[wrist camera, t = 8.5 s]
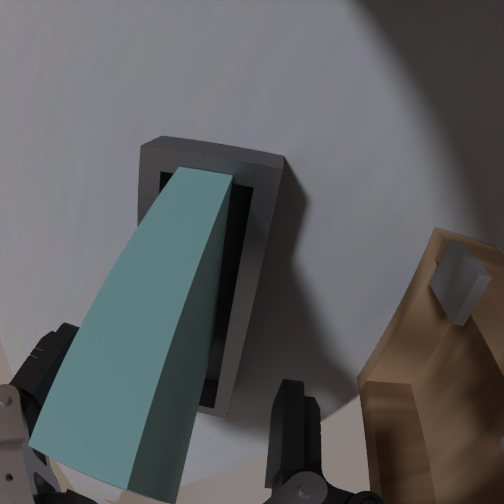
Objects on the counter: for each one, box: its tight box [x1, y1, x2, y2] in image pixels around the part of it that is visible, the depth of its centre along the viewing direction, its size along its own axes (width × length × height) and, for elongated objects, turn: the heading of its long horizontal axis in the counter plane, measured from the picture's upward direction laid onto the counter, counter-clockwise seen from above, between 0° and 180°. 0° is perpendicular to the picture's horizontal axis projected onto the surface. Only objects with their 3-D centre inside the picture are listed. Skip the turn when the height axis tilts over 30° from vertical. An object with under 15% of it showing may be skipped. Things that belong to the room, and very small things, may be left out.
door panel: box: [28, 167, 233, 504], centre depth 10 cm, size 10×2×9 cm, turn 170°
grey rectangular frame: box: [138, 136, 284, 418], centre depth 14 cm, size 15×5×2 cm, turn 170°
